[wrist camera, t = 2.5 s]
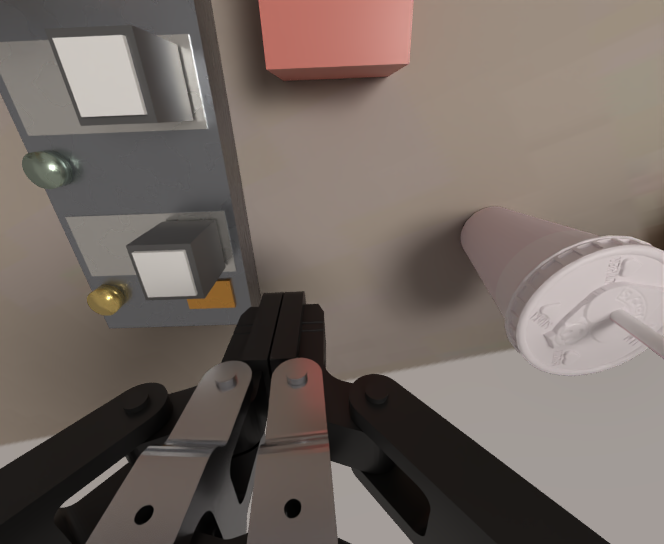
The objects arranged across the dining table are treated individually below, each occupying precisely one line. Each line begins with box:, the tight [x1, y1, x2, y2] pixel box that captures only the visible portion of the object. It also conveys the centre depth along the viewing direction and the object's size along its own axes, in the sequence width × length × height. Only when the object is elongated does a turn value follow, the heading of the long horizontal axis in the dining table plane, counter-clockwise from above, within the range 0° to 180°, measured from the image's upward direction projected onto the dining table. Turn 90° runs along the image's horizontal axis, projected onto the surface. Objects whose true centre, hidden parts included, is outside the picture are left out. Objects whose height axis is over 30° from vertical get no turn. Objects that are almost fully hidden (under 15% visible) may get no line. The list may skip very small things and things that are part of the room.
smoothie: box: [460, 206, 664, 376], centre depth 14 cm, size 6×6×14 cm
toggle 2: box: [126, 220, 226, 300], centre depth 16 cm, size 3×3×4 cm
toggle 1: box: [45, 25, 193, 126], centre depth 13 cm, size 3×3×4 cm
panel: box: [0, 0, 261, 328], centre depth 18 cm, size 10×18×3 cm, turn 2°
